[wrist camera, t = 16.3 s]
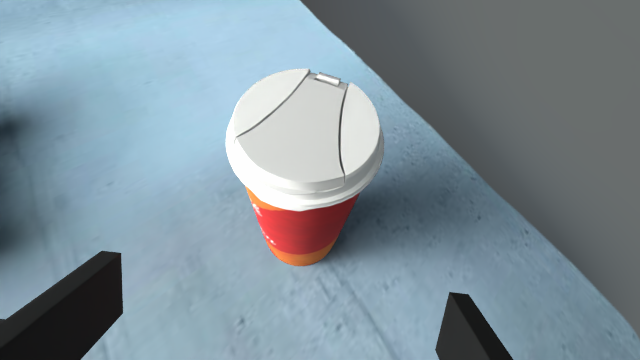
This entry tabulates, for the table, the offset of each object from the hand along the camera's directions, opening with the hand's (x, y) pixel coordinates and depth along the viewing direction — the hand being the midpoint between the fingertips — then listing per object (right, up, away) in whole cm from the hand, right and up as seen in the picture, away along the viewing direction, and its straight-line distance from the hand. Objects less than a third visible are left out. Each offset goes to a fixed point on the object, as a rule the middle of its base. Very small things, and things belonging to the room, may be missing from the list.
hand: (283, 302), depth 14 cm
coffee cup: (0, 0, +16) cm, 16 cm away
